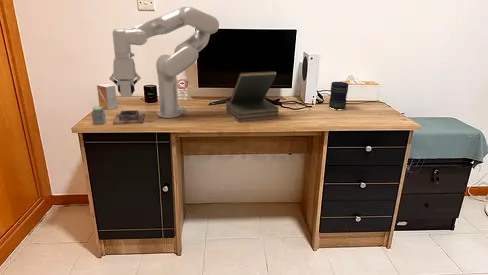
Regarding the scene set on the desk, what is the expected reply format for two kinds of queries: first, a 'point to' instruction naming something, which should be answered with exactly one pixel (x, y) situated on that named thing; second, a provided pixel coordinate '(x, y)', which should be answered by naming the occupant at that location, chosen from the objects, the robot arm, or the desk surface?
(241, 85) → the tilted panel stand
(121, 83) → the block
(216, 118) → the desk surface
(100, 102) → the small box
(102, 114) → the button post
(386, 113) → the desk surface
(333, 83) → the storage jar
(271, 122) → the desk surface
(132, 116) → the square base with tray
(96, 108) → the button
